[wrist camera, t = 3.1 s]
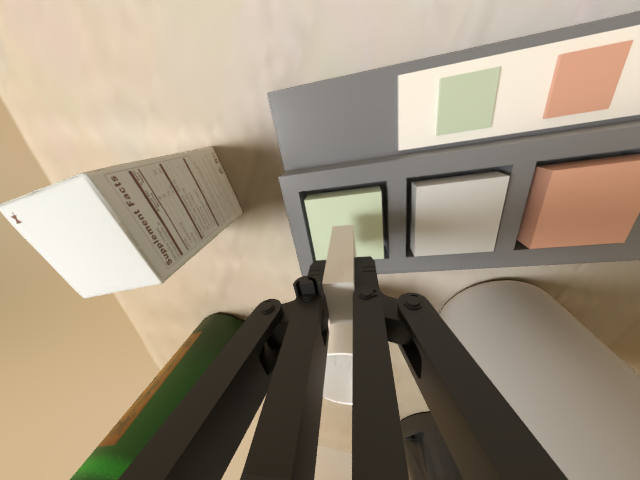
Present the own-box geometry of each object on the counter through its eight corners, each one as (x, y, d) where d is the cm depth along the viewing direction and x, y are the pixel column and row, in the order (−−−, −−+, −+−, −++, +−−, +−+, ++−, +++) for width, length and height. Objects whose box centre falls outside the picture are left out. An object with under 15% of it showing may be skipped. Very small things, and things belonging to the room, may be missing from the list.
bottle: (184, 309, 34) (-243, 791, 10) (247, 303, 32) (-101, 916, 7) (214, 355, 39) (-22, 760, 14) (271, 352, 36) (107, 830, 12)
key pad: (686, 244, 21) (761, 272, 17) (311, 267, 28) (304, 291, 24) (865, -32, 13) (1085, -97, 9) (274, 94, 19) (255, 89, 16)
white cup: (359, 269, 27) (363, 342, 18) (389, 313, 29) (405, 395, 21) (306, 293, 30) (287, 367, 21) (338, 331, 32) (333, 411, 24)
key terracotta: (603, 233, 18) (624, 242, 17) (516, 239, 19) (529, 249, 18) (638, 153, 15) (667, 157, 14) (535, 166, 16) (552, 170, 15)
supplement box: (191, 226, 27) (80, 301, 16) (155, 163, 24) (-15, 203, 13) (246, 213, 25) (163, 287, 14) (215, 144, 22) (78, 169, 11)
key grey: (483, 241, 20) (493, 251, 18) (410, 247, 21) (414, 256, 19) (496, 171, 17) (509, 175, 15) (411, 181, 18) (416, 187, 17)
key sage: (382, 249, 21) (384, 258, 20) (318, 254, 22) (316, 263, 21) (379, 185, 18) (381, 191, 17) (307, 194, 20) (304, 200, 18)
